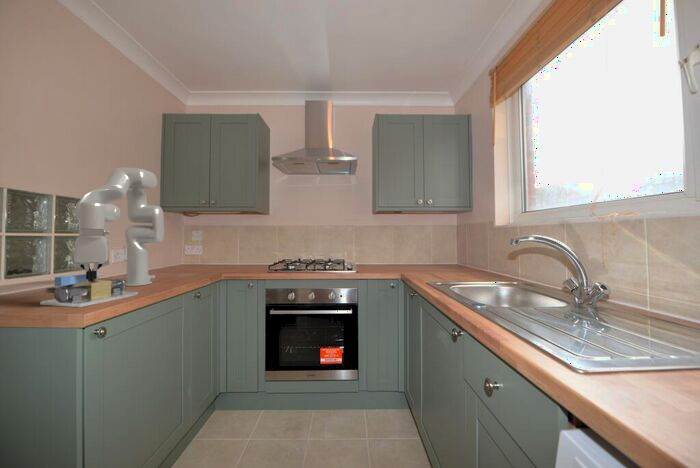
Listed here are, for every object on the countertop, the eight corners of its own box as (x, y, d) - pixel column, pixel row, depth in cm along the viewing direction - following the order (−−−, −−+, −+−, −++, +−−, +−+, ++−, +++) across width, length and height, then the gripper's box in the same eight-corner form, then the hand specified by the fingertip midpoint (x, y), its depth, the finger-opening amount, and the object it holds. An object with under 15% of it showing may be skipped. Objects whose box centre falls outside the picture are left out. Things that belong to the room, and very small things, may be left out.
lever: (94, 280, 124) (94, 271, 124) (101, 280, 124) (101, 271, 124) (53, 285, 110) (53, 276, 110) (62, 286, 109) (62, 276, 109)
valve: (111, 295, 141) (75, 297, 126) (72, 295, 148) (33, 296, 133) (113, 282, 142) (77, 281, 127) (74, 282, 149) (36, 281, 134)
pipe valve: (103, 293, 135) (104, 276, 136) (137, 294, 132) (138, 277, 132) (40, 304, 112) (40, 284, 112) (79, 307, 109) (80, 286, 109)
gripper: (117, 234, 124) (116, 278, 124) (68, 233, 116) (67, 281, 115) (115, 234, 118) (114, 280, 117) (63, 233, 109) (62, 284, 109)
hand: (91, 281), depth 116 cm, fingers closed
